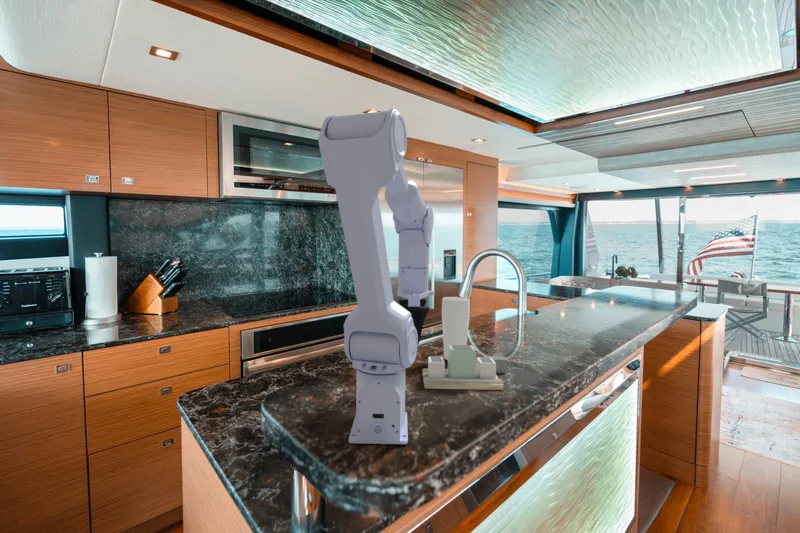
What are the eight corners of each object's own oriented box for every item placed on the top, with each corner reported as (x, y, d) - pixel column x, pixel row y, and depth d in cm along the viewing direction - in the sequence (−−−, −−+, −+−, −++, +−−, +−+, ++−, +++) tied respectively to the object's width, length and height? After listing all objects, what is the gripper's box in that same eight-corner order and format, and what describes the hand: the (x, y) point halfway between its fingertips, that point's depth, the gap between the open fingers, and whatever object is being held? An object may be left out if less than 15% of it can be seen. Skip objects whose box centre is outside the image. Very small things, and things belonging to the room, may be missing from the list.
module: (475, 380, 74) (476, 349, 73) (450, 380, 74) (450, 349, 73) (471, 374, 78) (472, 344, 77) (447, 373, 78) (448, 344, 77)
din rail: (502, 383, 72) (502, 380, 72) (424, 381, 72) (424, 378, 72) (494, 372, 79) (494, 369, 79) (422, 371, 79) (422, 368, 79)
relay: (506, 373, 82) (506, 359, 82) (487, 373, 82) (488, 359, 82) (503, 369, 85) (503, 356, 85) (485, 368, 85) (485, 355, 85)
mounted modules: (495, 381, 74) (496, 362, 73) (429, 379, 74) (429, 361, 74) (490, 374, 78) (491, 357, 77) (427, 373, 78) (428, 356, 78)
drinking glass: (435, 359, 91) (436, 298, 91) (451, 354, 96) (452, 296, 96) (458, 365, 87) (459, 300, 86) (474, 359, 92) (475, 298, 91)
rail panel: (503, 389, 72) (503, 384, 72) (424, 388, 72) (424, 383, 72) (493, 376, 80) (493, 371, 80) (422, 374, 80) (422, 370, 80)
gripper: (438, 269, 64) (436, 349, 64) (431, 266, 78) (430, 331, 79) (396, 269, 64) (395, 348, 64) (397, 266, 78) (396, 331, 79)
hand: (412, 339), depth 71 cm, fingers open, 7 cm apart
